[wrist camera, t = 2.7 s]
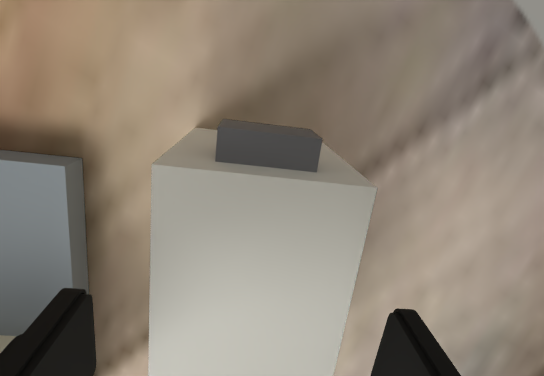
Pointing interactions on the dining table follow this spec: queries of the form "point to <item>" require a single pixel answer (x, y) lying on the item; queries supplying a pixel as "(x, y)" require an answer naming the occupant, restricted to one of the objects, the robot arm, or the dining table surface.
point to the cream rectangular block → (253, 252)
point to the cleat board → (39, 235)
